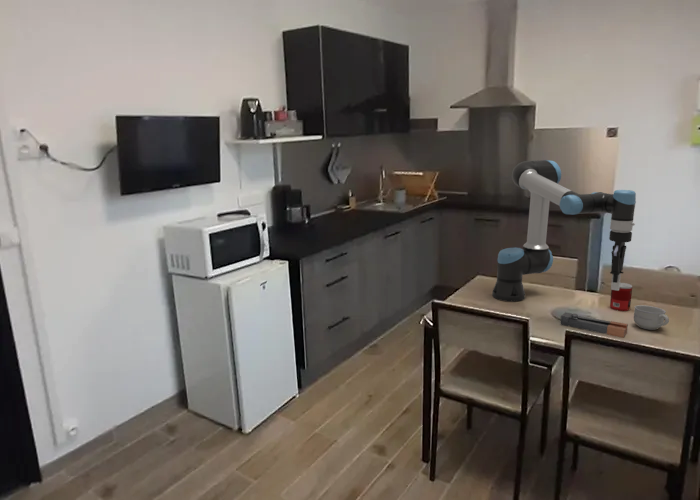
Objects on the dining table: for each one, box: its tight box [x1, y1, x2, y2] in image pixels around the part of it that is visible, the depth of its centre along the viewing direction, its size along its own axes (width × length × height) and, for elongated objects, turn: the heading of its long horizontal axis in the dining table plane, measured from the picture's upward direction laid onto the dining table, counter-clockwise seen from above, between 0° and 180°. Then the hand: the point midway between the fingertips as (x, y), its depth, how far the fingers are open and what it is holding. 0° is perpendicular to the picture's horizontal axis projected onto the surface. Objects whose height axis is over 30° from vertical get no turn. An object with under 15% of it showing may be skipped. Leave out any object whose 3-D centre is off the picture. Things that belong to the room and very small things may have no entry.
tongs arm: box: [571, 313, 629, 334], centre depth 203 cm, size 20×4×4 cm, turn 55°
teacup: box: [633, 304, 670, 331], centre depth 201 cm, size 14×11×8 cm
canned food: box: [609, 282, 633, 312], centre depth 225 cm, size 8×8×11 cm
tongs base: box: [559, 311, 627, 338], centre depth 202 cm, size 24×6×4 cm, turn 50°
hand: (615, 289), depth 199 cm, fingers closed
